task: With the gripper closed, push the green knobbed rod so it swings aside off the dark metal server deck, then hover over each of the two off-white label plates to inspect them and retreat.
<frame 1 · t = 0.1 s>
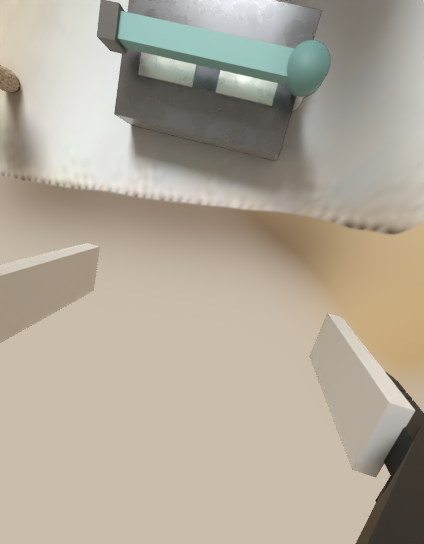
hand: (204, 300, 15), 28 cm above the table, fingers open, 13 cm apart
green knobbed rod: (212, 50, 28), point 9 cm above the table, hinge at 0.0°
mushroom: (14, 80, 41), on the table
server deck: (214, 84, 37), on the table
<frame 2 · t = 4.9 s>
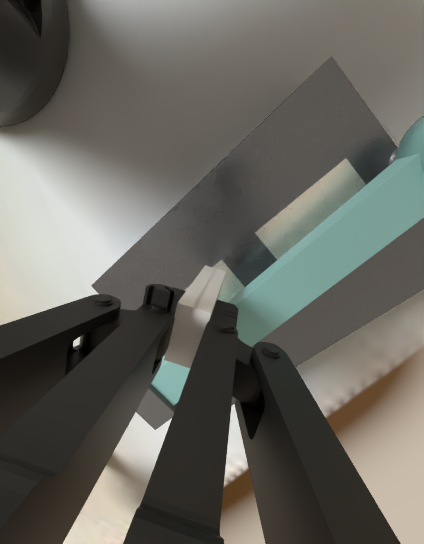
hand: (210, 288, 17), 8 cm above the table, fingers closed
green knobbed rod: (282, 288, 15), point 9 cm above the table, hinge at 3.1°, touching gripper
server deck: (258, 258, 24), on the table
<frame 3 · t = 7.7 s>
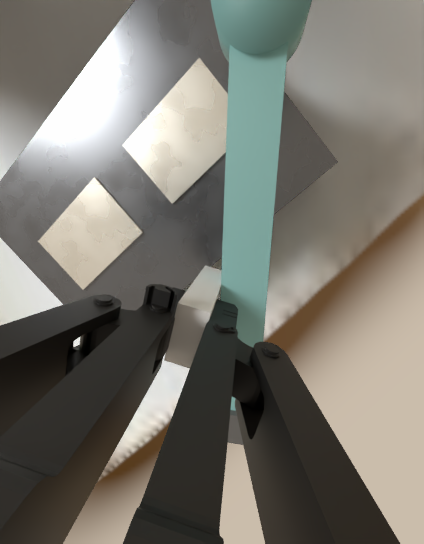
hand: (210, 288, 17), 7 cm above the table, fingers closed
green knobbed rod: (247, 240, 14), point 9 cm above the table, hinge at 47.5°, touching gripper
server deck: (158, 192, 23), on the table
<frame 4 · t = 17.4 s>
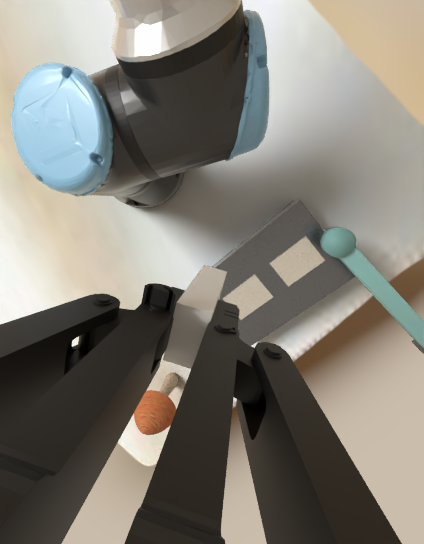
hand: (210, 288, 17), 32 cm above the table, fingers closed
green knobbed rod: (383, 291, 38), point 9 cm above the table, hinge at 94.5°
mushroom: (171, 374, 58), on the table
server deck: (269, 272, 49), on the table
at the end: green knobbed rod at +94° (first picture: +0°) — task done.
